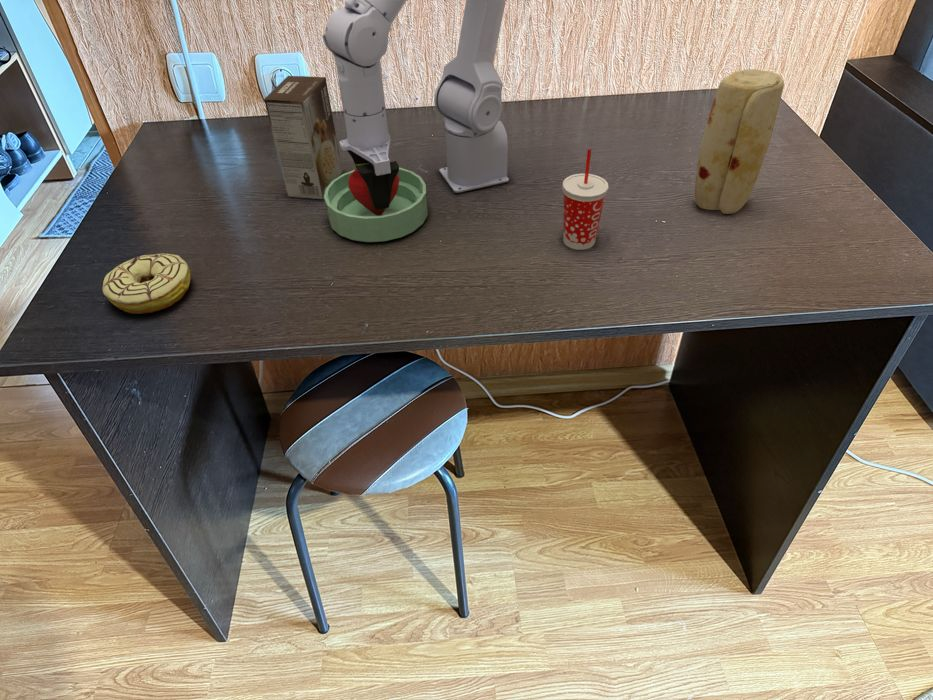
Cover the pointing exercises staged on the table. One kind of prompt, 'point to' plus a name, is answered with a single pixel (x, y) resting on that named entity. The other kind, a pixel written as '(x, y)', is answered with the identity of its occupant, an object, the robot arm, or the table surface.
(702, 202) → the food model
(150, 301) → the decorated donut
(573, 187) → the beverage cup
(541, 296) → the table surface
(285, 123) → the coffee box
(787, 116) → the table surface
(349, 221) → the mint green dish
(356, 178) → the strawberry
